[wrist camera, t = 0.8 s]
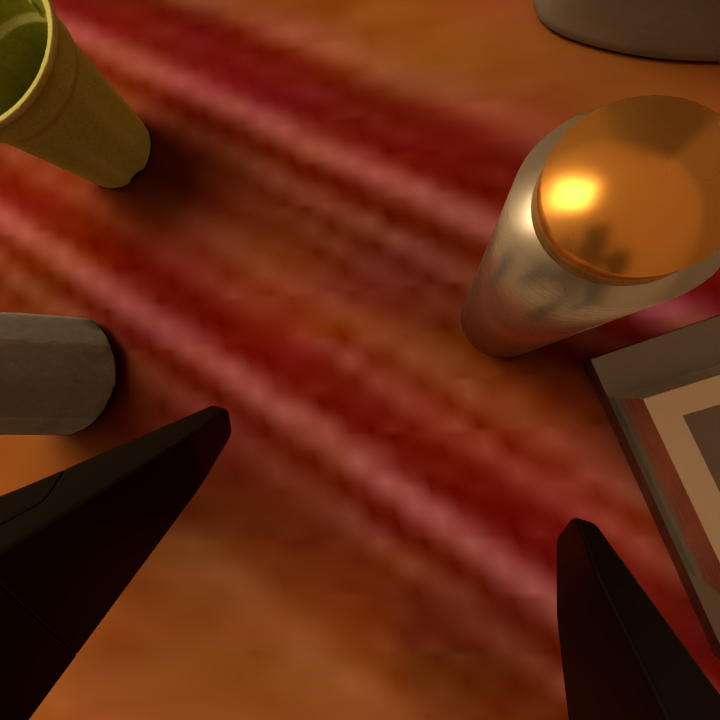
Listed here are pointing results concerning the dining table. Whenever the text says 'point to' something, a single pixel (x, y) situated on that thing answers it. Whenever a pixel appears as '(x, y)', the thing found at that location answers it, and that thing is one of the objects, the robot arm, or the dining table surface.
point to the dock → (674, 447)
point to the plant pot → (63, 100)
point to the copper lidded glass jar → (600, 225)
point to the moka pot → (52, 374)
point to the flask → (639, 26)
